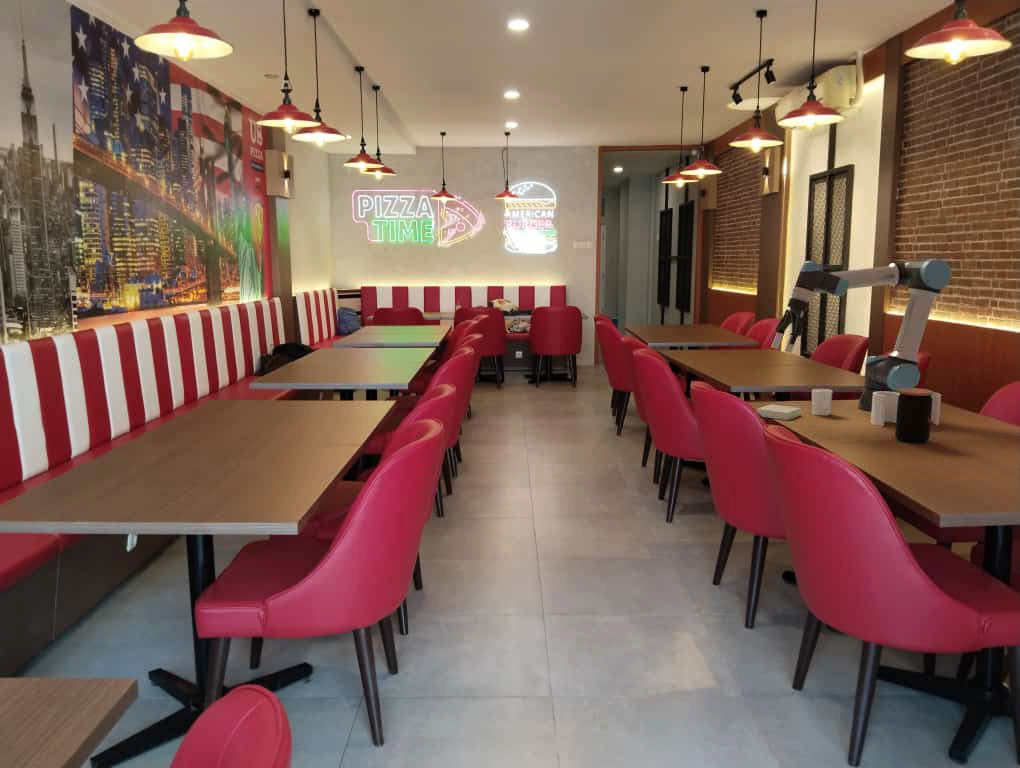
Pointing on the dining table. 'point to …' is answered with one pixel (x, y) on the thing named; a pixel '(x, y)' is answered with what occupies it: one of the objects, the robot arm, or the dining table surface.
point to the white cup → (821, 401)
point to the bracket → (887, 407)
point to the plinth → (779, 412)
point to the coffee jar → (913, 415)
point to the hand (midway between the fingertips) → (781, 350)
